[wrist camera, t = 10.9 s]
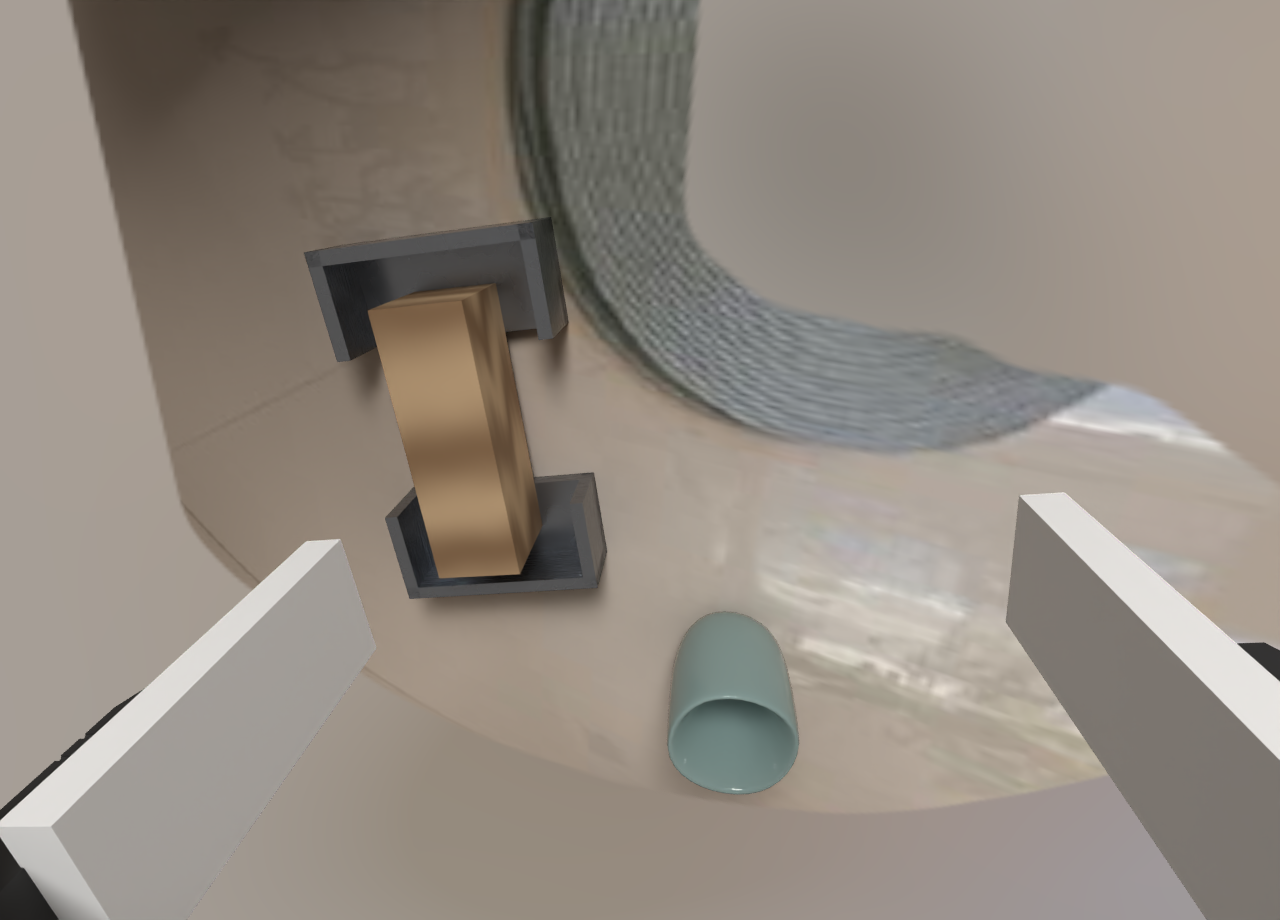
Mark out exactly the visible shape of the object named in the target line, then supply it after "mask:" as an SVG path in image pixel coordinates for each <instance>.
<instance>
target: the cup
mask: <svg viewBox="0 0 1280 920" xmlns="http://www.w3.org/2000/svg"><path fill="white" fill-rule="evenodd" d="M667 746H668V751H669V757H670V759H671V761H672V763H673V765H674V766H675V767H676V769H677V770H678V771H679V772H680V773H681V774H682V775H683V776H684V777H686V778H687V779H688V780H690V781H691V782H693V783H695V784H697V785H699V786H701V787H704V788H706V789H709V790H712V791H716V792H721V793H727V794H751V793H756V792H760V791H763V790H765V789H767V788H770V787H771V786H773V785H774V784H776V783H777V782H779V781H780V780H781V779H782V778H783V777H784V776H785V775H786V774H787V773H788V771H789V770H790V768H791V767H792V765H793V764H794V761H795V759H796V757H797V753H798V747H799V732H798V723H797V716H796V710H795V704H794V698H793V692H792V687H791V682H790V677H789V673H788V669H787V666H786V663H785V660H784V657H783V654H782V652H781V649H780V647H779V644H778V643H777V641H776V639H775V638H774V636H773V635H772V634H771V632H770V631H769V630H768V629H767V628H766V627H765V626H764V625H762V624H761V623H760V622H758V621H756V620H755V619H753V618H751V617H749V616H746V615H744V614H740V613H735V612H726V611H724V612H715V613H711V614H708V615H706V616H704V617H702V618H700V619H699V620H698V621H696V622H695V623H694V624H693V625H692V626H691V627H690V628H689V630H688V631H687V632H686V634H685V635H684V637H683V639H682V641H681V643H680V645H679V648H678V651H677V655H676V658H675V662H674V666H673V671H672V677H671V685H670V696H669V709H668V725H667Z"/></svg>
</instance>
